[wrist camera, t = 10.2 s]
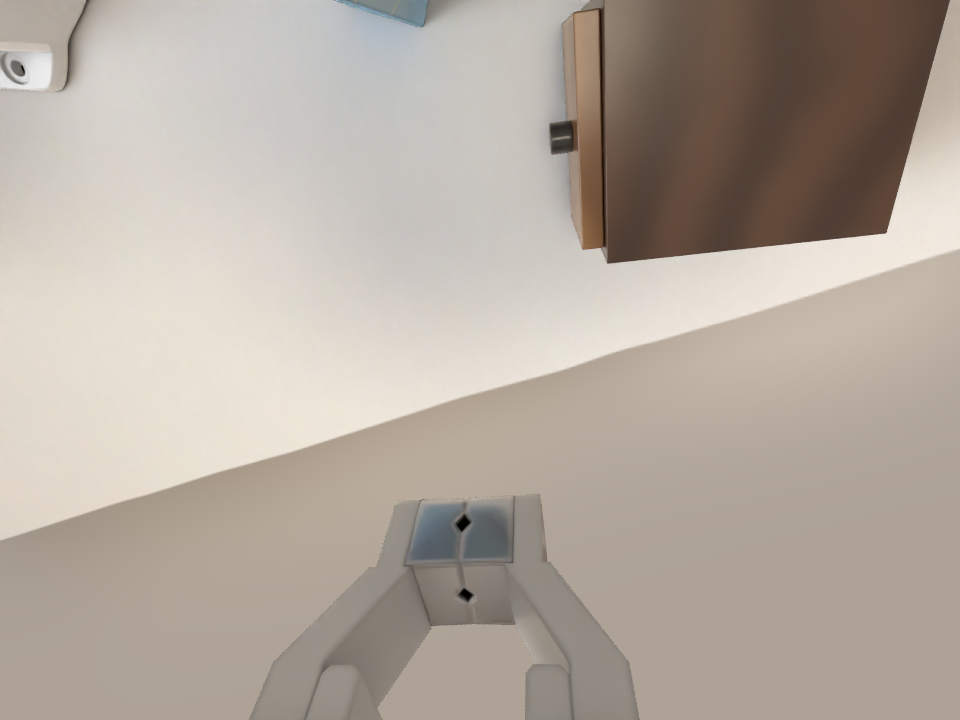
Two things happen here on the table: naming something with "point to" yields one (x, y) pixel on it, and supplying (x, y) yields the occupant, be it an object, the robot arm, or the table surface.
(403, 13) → the gum box
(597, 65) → the wooden drawer
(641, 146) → the cabinet
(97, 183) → the table surface
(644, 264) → the table surface
